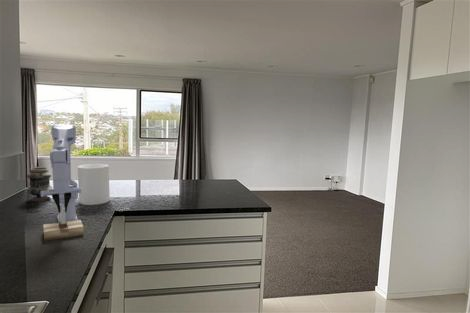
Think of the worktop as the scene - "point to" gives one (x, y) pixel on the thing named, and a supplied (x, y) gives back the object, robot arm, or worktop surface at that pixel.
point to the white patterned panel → (122, 209)
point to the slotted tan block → (63, 230)
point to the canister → (93, 184)
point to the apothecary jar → (39, 182)
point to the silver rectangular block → (62, 214)
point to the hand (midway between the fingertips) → (62, 211)
